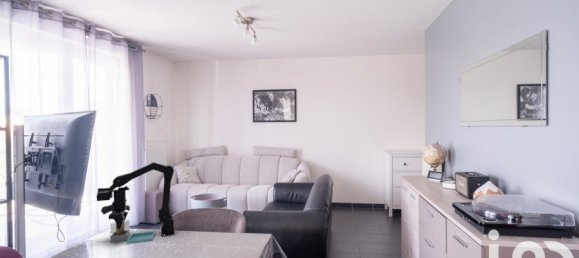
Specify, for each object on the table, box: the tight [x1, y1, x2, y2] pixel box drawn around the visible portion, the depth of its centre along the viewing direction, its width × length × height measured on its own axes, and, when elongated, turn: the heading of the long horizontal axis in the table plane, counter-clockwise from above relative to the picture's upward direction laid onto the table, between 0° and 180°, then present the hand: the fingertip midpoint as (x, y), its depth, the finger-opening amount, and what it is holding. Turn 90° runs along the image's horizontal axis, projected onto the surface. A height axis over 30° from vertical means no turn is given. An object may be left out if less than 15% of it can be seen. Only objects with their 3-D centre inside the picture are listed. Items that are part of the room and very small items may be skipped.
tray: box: [126, 231, 156, 245], centre depth 157 cm, size 12×12×2 cm
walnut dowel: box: [116, 220, 125, 235], centre depth 156 cm, size 4×4×10 cm
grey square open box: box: [110, 229, 131, 244], centre depth 156 cm, size 8×8×4 cm
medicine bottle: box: [110, 218, 130, 234], centre depth 171 cm, size 7×7×12 cm
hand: (120, 227), depth 156 cm, fingers closed on walnut dowel, 4 cm apart
